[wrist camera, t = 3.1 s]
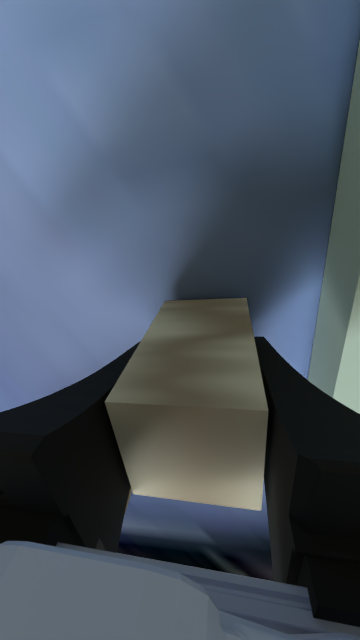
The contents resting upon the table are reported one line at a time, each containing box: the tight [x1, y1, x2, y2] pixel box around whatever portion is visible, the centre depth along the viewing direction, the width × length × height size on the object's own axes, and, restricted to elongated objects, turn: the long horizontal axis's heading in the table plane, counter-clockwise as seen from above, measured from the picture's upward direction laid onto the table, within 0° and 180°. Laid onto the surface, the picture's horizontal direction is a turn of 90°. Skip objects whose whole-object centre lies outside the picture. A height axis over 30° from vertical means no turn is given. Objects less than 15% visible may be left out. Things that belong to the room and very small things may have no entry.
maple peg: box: [105, 298, 268, 511], centre depth 10 cm, size 4×4×7 cm
